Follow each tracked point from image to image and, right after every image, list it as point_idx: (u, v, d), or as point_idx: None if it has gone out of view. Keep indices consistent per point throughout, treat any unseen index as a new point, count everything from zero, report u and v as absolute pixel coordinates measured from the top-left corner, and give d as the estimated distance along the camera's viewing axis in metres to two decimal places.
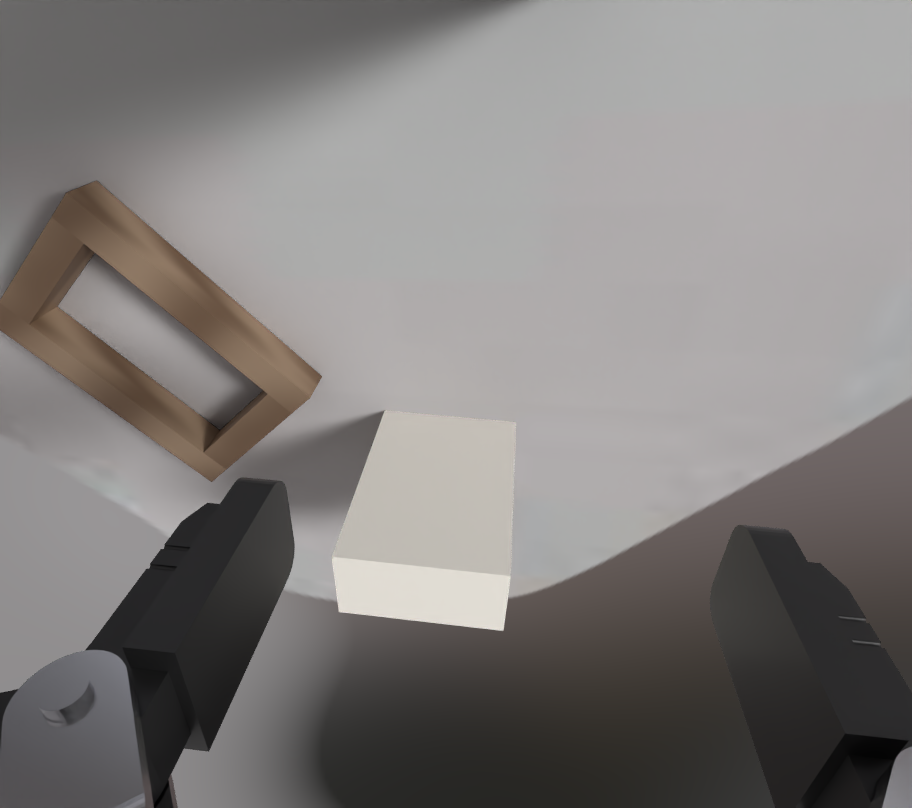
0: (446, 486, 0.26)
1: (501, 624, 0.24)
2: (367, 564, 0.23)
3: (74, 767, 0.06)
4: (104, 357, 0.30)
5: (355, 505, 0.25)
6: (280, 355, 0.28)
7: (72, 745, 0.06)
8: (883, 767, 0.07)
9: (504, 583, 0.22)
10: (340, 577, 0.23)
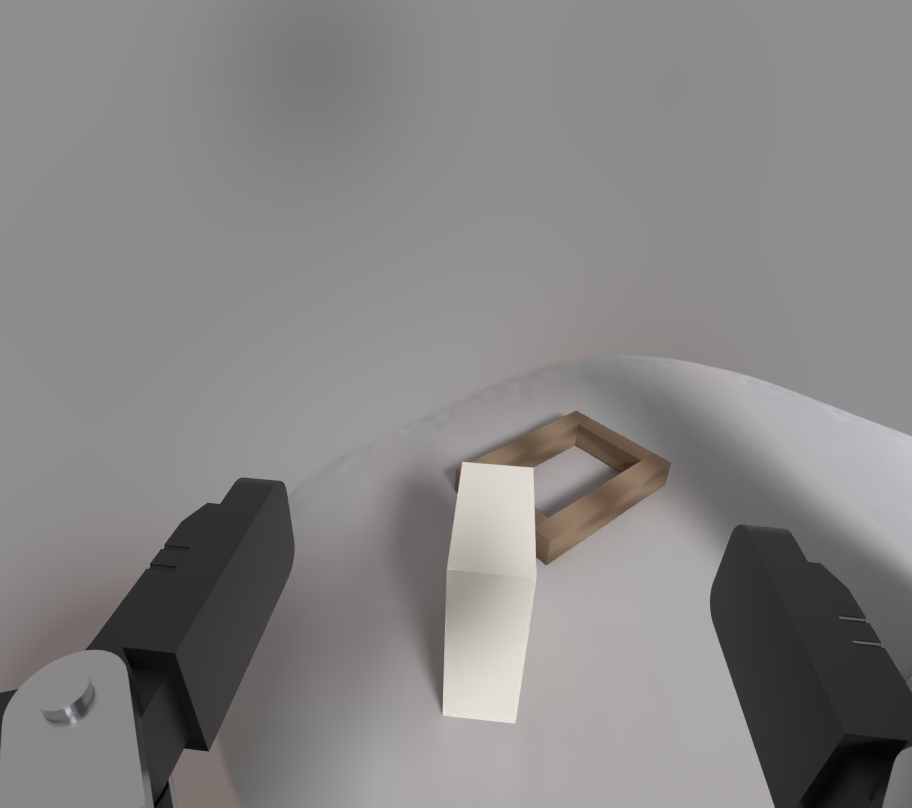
0: None
1: (457, 568, 0.23)
2: (528, 485, 0.27)
3: (74, 767, 0.06)
4: (549, 450, 0.45)
5: None
6: (572, 537, 0.37)
7: (71, 745, 0.06)
8: (883, 767, 0.07)
9: (524, 573, 0.22)
10: (508, 468, 0.28)
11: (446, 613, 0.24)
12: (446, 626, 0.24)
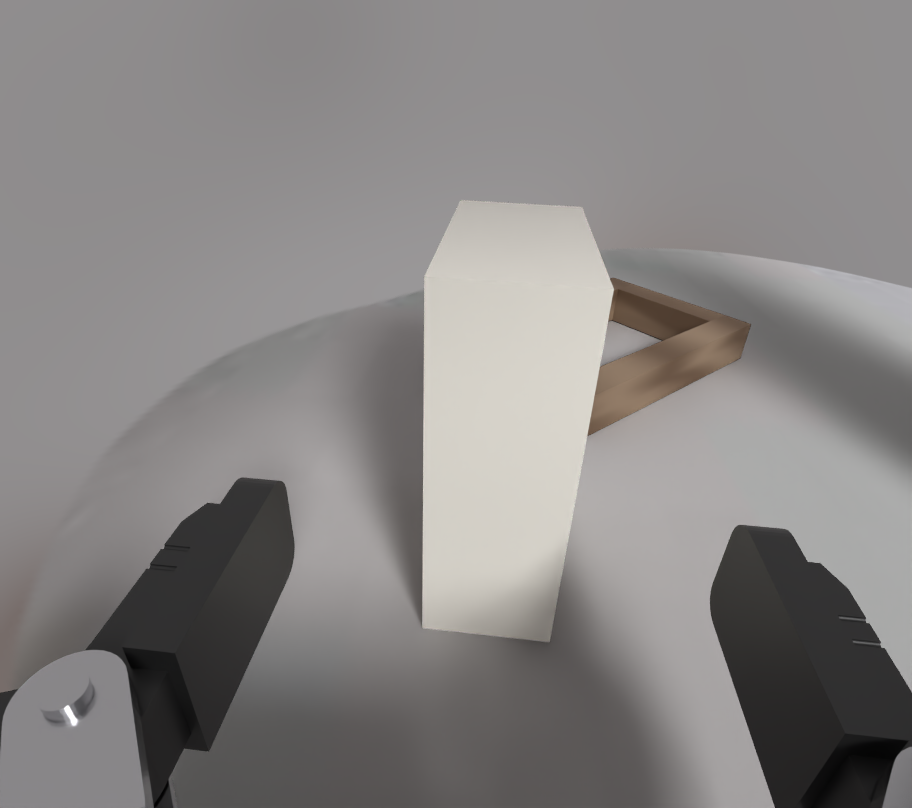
0: None
1: (447, 275, 0.11)
2: (576, 217, 0.15)
3: (74, 767, 0.06)
4: None
5: None
6: (623, 401, 0.25)
7: (71, 746, 0.06)
8: (883, 767, 0.07)
9: (588, 284, 0.11)
10: (540, 206, 0.16)
11: (425, 395, 0.12)
12: (426, 428, 0.13)
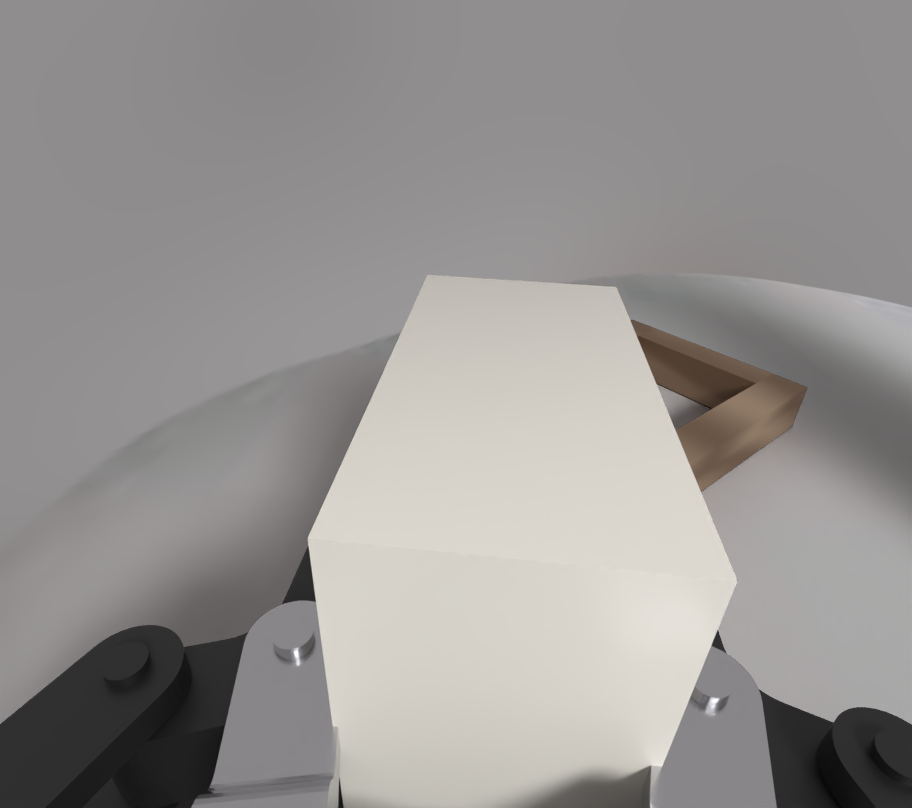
0: None
1: (359, 533, 0.05)
2: (613, 314, 0.09)
3: (322, 698, 0.07)
4: None
5: None
6: None
7: (288, 686, 0.07)
8: None
9: (674, 558, 0.05)
10: (551, 287, 0.10)
11: (335, 717, 0.06)
12: (342, 759, 0.07)
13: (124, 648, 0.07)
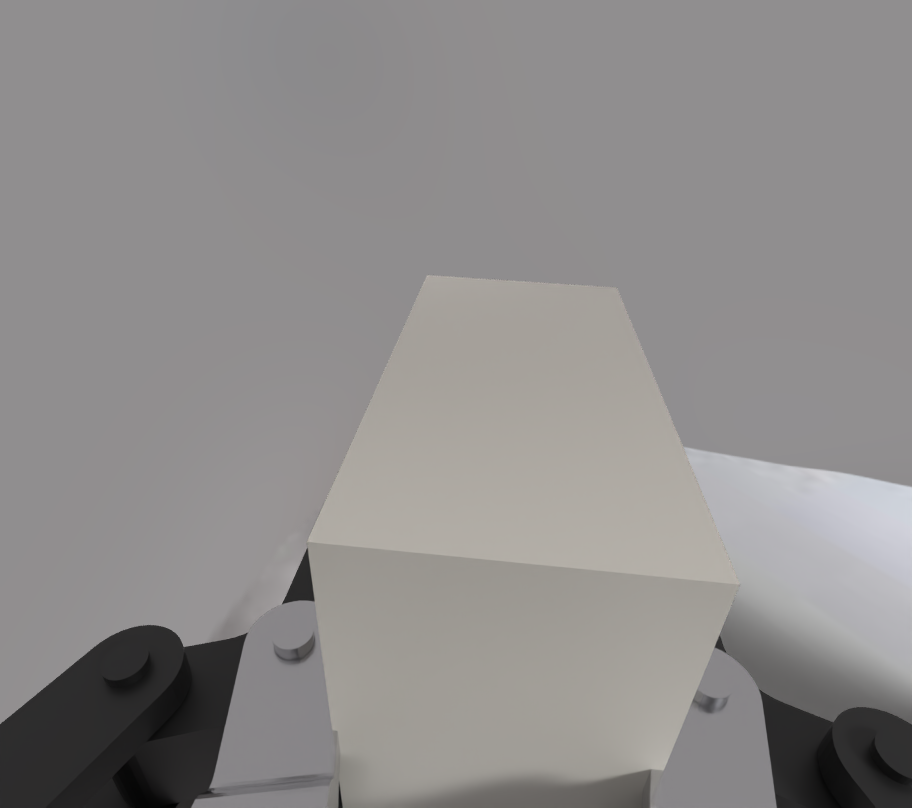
0: None
1: (359, 537, 0.05)
2: (612, 315, 0.09)
3: (322, 698, 0.07)
4: None
5: None
6: None
7: (288, 686, 0.07)
8: None
9: (676, 562, 0.05)
10: (551, 287, 0.10)
11: (335, 721, 0.06)
12: (342, 763, 0.07)
13: (124, 648, 0.07)
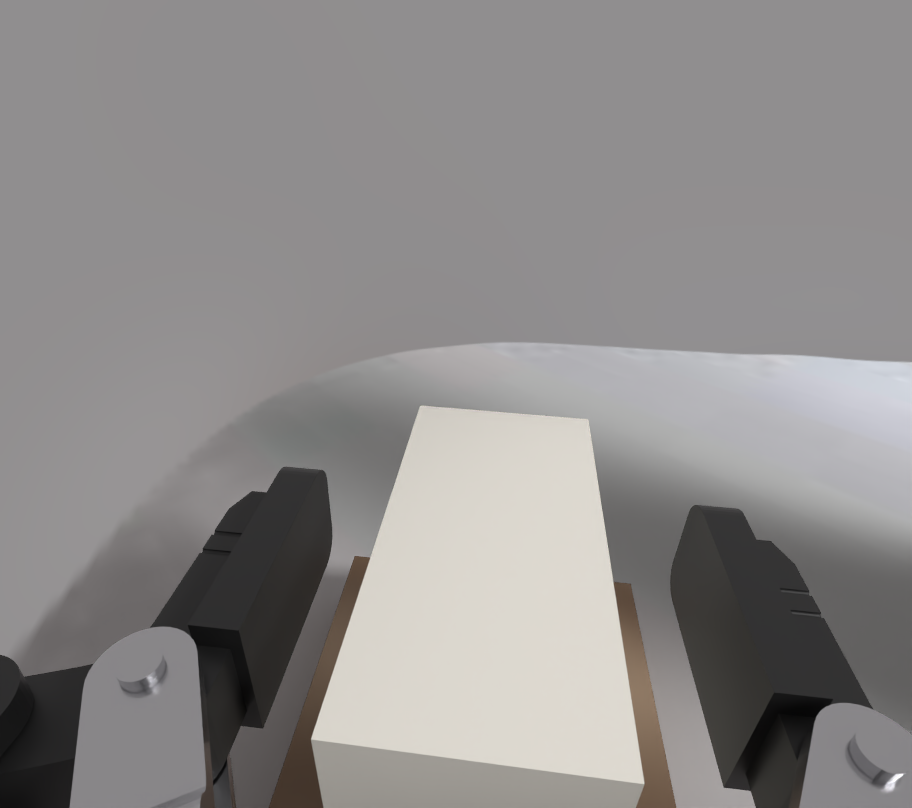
0: None
1: (351, 734, 0.06)
2: (581, 458, 0.11)
3: (156, 734, 0.06)
4: None
5: None
6: None
7: (141, 718, 0.06)
8: (810, 725, 0.07)
9: (598, 760, 0.06)
10: (529, 421, 0.12)
11: None
12: None
13: None
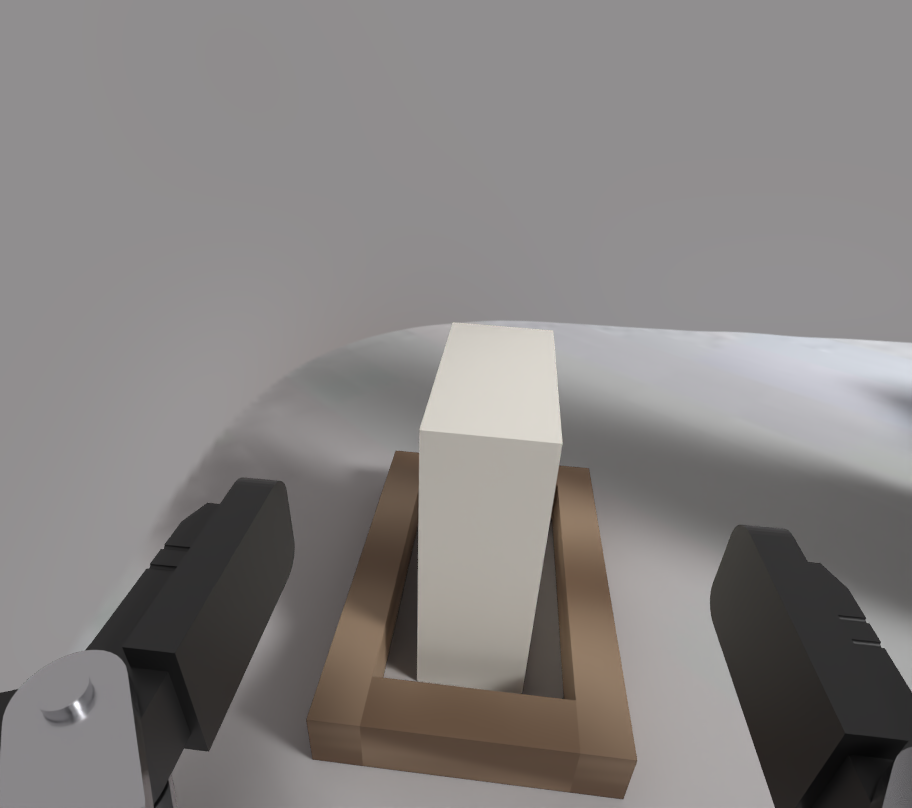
0: None
1: (436, 429, 0.14)
2: (546, 346, 0.19)
3: (74, 767, 0.06)
4: (410, 543, 0.23)
5: None
6: None
7: (72, 746, 0.06)
8: (883, 767, 0.07)
9: (543, 437, 0.14)
10: (518, 330, 0.20)
11: (420, 510, 0.15)
12: (420, 533, 0.16)
13: None
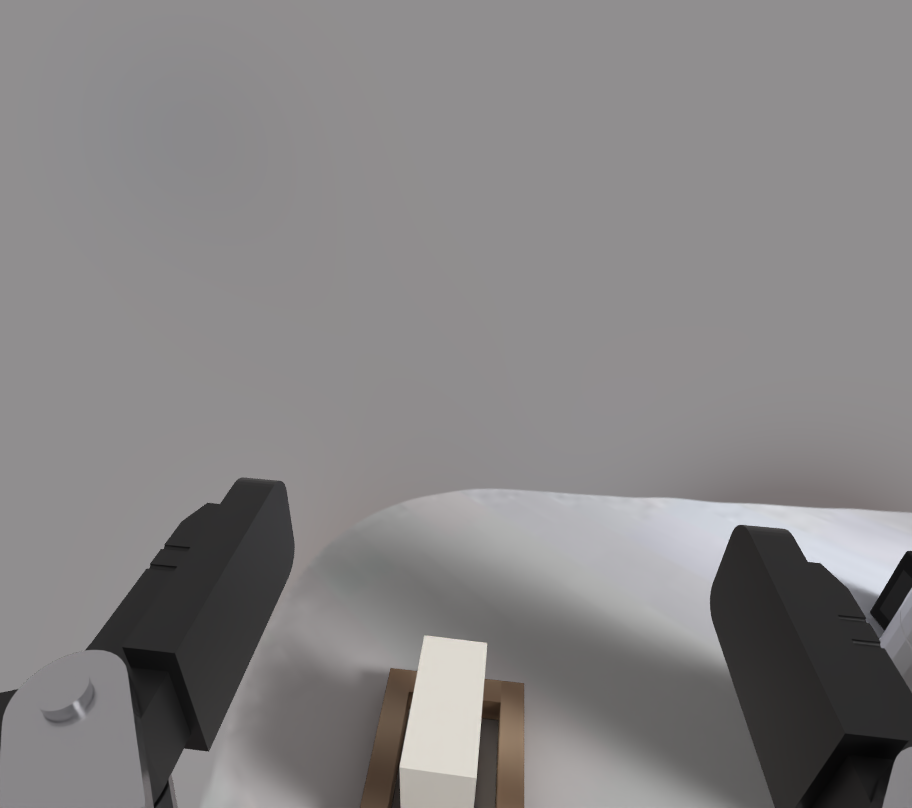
0: None
1: (408, 766, 0.26)
2: (480, 665, 0.30)
3: (74, 766, 0.06)
4: (399, 752, 0.35)
5: None
6: None
7: (72, 746, 0.06)
8: (883, 767, 0.07)
9: (467, 772, 0.26)
10: (465, 644, 0.32)
11: (401, 796, 0.27)
12: (401, 805, 0.28)
13: None
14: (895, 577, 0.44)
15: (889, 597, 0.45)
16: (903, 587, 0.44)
